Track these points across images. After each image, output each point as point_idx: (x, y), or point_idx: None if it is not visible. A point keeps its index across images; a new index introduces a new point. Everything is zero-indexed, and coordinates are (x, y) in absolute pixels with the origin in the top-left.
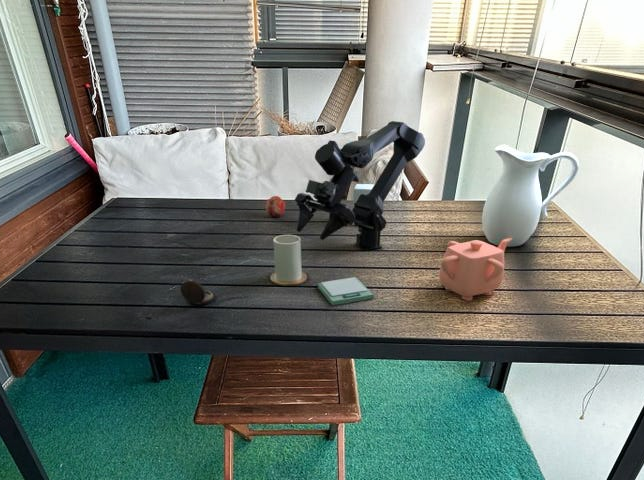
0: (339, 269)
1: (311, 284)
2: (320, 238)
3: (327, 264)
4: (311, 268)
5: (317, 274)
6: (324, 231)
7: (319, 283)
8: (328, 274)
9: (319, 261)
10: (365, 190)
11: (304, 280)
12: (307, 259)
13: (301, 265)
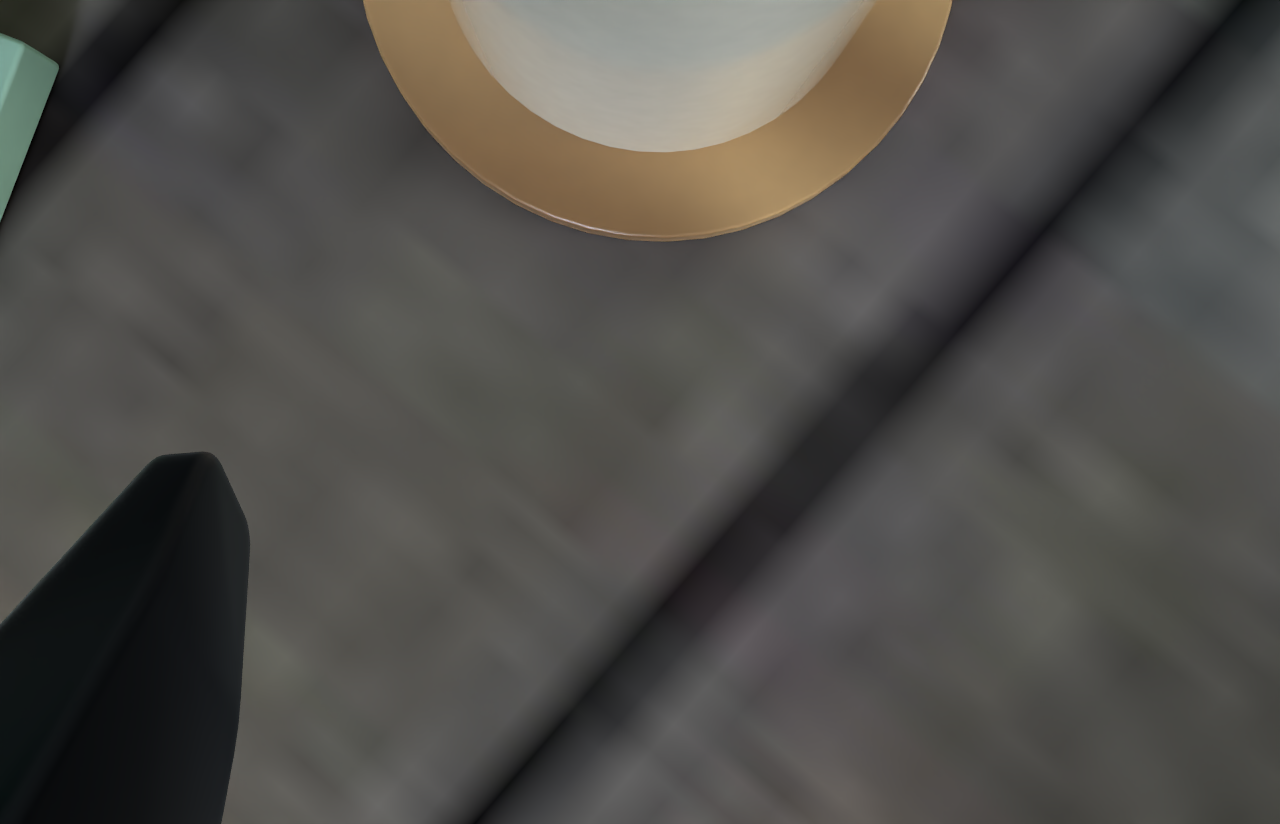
0: (381, 809)
1: (226, 70)
2: (191, 457)
3: (677, 795)
4: (723, 479)
5: (466, 396)
6: (4, 651)
7: (6, 64)
8: (346, 533)
9: (867, 776)
10: None
11: (378, 47)
12: (1070, 676)
13: (488, 25)
